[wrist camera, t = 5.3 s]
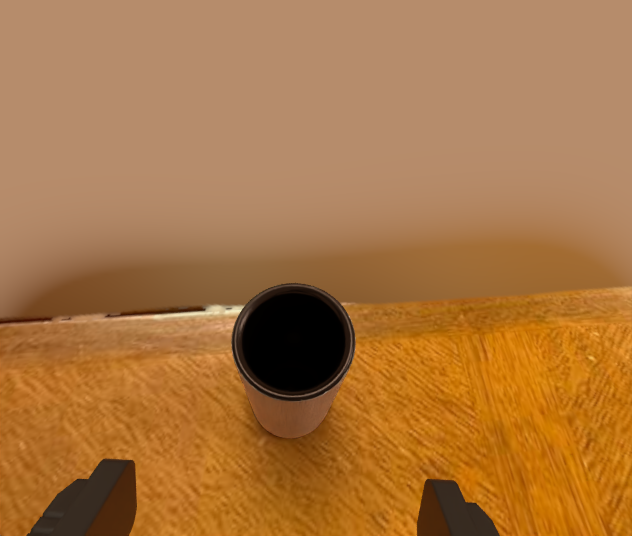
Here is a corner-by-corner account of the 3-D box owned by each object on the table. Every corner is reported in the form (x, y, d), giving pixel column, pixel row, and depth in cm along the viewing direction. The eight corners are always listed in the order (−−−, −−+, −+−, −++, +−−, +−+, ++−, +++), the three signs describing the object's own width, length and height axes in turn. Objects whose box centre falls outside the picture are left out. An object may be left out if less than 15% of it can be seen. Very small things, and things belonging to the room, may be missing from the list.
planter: (262, 450, 22) (247, 420, 13) (243, 372, 24) (219, 299, 15) (340, 423, 23) (375, 378, 14) (315, 350, 25) (331, 269, 16)
